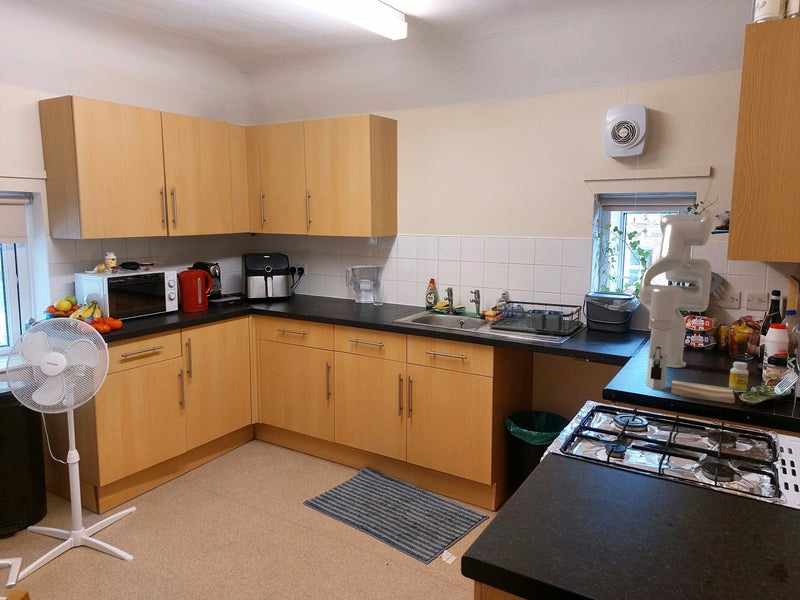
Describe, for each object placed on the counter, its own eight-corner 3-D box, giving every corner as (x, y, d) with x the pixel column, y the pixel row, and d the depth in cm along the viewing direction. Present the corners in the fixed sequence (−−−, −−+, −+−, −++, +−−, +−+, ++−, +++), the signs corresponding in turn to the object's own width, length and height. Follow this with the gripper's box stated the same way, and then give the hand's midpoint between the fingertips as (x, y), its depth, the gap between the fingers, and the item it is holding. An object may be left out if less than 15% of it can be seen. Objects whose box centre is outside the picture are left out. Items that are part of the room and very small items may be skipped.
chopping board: (671, 384, 203) (672, 380, 203) (731, 392, 195) (731, 388, 195) (670, 394, 190) (671, 390, 190) (734, 403, 183) (734, 399, 182)
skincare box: (665, 390, 196) (668, 354, 194) (652, 389, 196) (655, 354, 194) (657, 385, 202) (661, 350, 200) (645, 384, 202) (648, 350, 200)
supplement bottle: (739, 388, 201) (742, 361, 200) (750, 393, 196) (753, 365, 194) (724, 388, 200) (727, 361, 199) (735, 393, 195) (738, 364, 194)
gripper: (650, 320, 205) (645, 369, 208) (647, 327, 190) (642, 380, 192) (673, 322, 202) (669, 372, 204) (672, 329, 187) (667, 384, 189)
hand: (656, 376), depth 198 cm, fingers closed on skincare box, 7 cm apart
